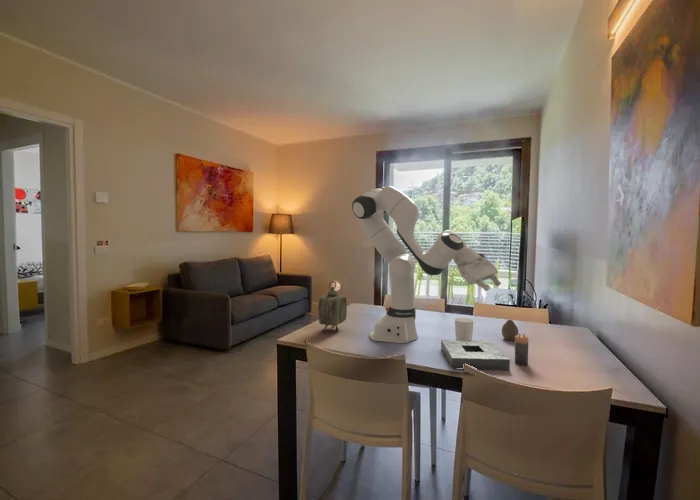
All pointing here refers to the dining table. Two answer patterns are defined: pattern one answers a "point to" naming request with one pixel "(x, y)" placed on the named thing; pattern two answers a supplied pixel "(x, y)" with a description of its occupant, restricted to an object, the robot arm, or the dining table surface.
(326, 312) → the tabletop clock
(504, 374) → the dining table surface
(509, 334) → the brown textured egg shape
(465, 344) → the socket block
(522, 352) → the plug
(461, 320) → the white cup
